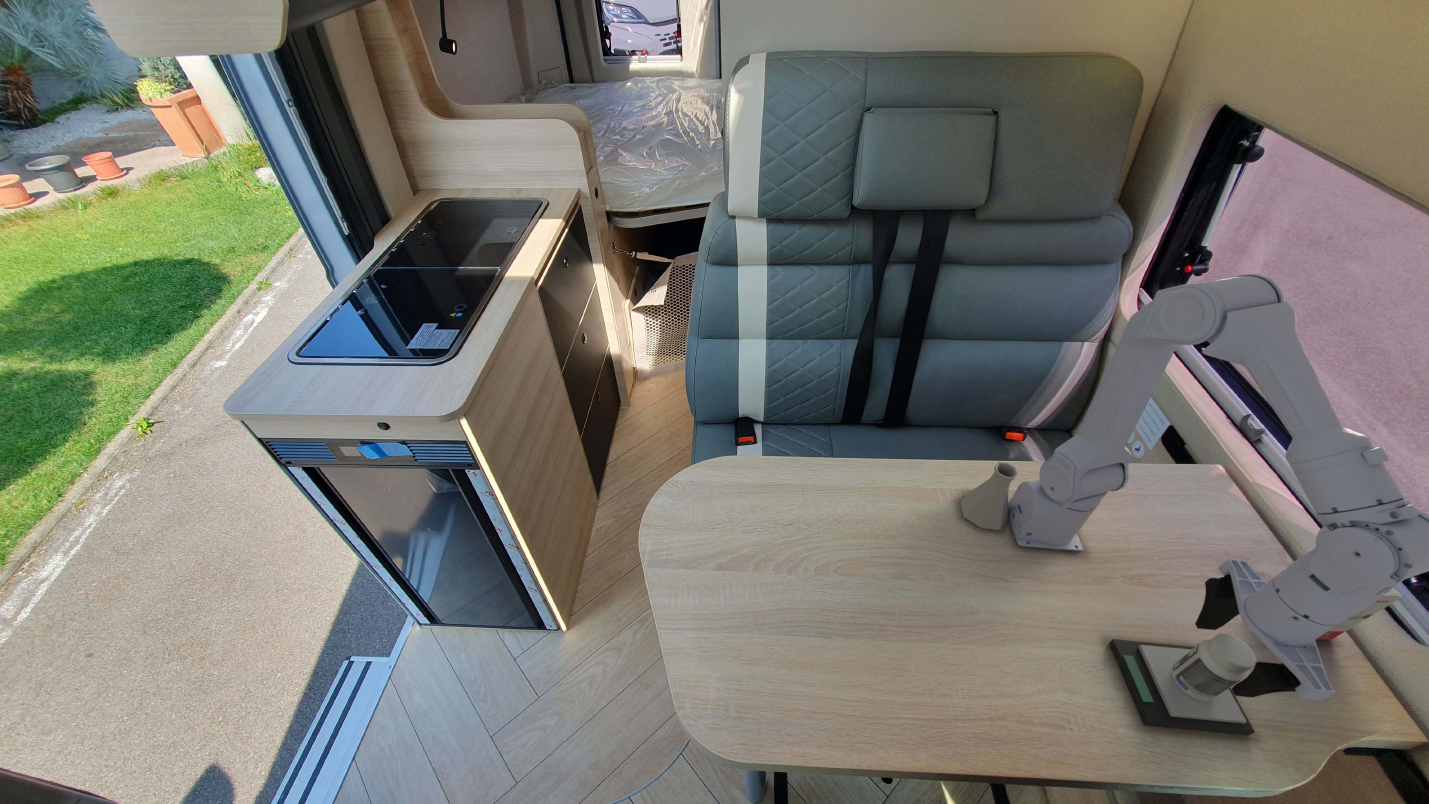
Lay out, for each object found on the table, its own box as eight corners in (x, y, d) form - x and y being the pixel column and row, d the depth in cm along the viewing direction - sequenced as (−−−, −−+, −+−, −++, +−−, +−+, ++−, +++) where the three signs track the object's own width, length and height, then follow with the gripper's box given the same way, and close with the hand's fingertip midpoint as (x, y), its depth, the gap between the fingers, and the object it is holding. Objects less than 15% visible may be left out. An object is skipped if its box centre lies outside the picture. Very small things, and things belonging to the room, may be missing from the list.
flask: (1009, 503, 92) (1034, 462, 86) (1005, 537, 88) (1031, 496, 81) (962, 487, 95) (983, 445, 88) (956, 520, 90) (977, 478, 83)
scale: (1143, 725, 68) (1151, 719, 67) (1108, 642, 76) (1115, 636, 75) (1248, 735, 68) (1258, 730, 67) (1202, 651, 75) (1211, 645, 74)
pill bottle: (1221, 705, 68) (1269, 675, 63) (1178, 696, 69) (1222, 666, 63) (1205, 666, 72) (1248, 634, 66) (1164, 658, 73) (1204, 626, 67)
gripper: (1409, 677, 52) (1301, 730, 61) (1301, 540, 62) (1223, 603, 71) (1326, 669, 52) (1231, 723, 61) (1233, 534, 63) (1164, 598, 72)
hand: (1222, 658), depth 66 cm, fingers open, 7 cm apart
